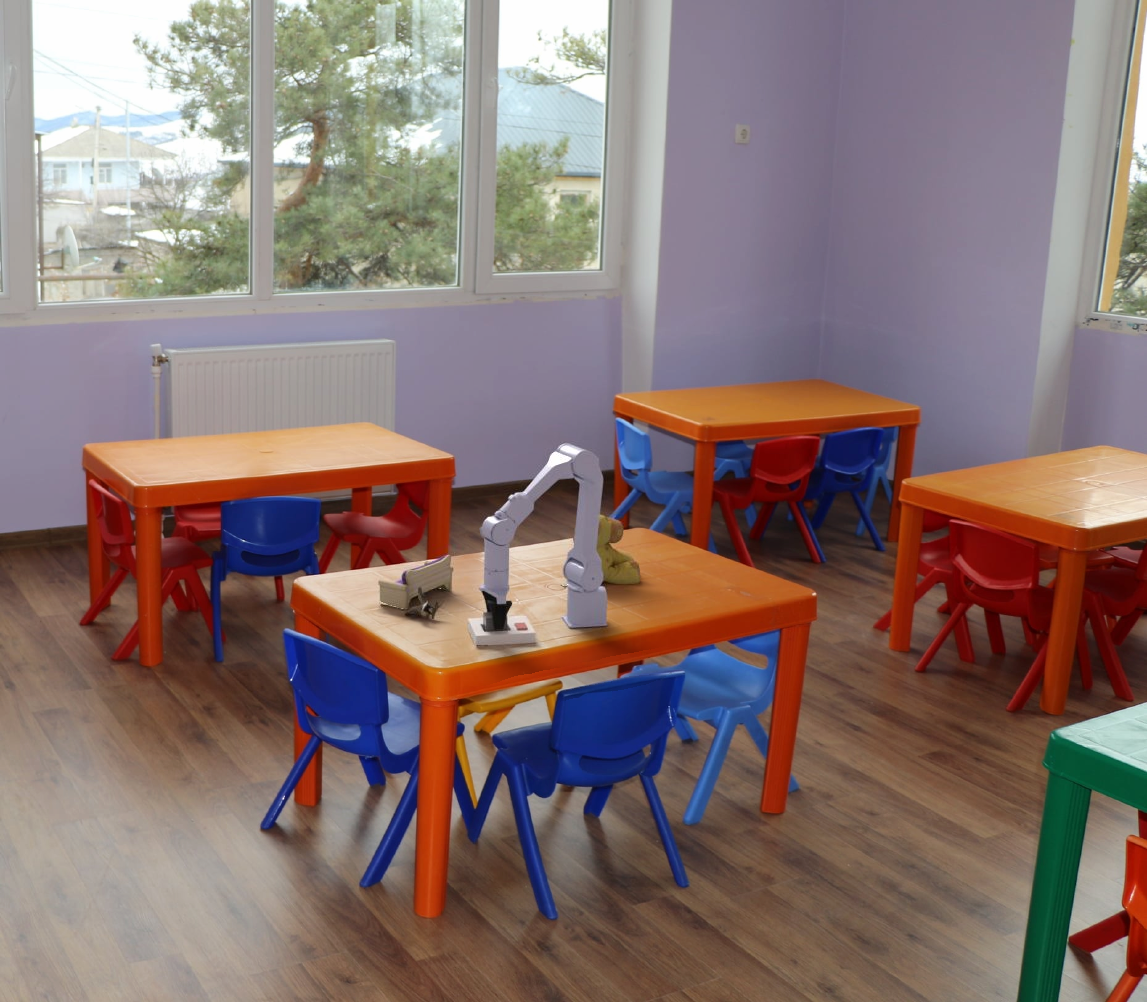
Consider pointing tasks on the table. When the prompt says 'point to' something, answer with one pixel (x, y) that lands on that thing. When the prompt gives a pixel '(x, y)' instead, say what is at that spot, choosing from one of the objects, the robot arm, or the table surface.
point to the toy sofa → (417, 582)
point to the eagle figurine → (424, 605)
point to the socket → (503, 632)
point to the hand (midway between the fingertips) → (495, 623)
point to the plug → (490, 623)
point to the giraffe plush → (614, 554)
